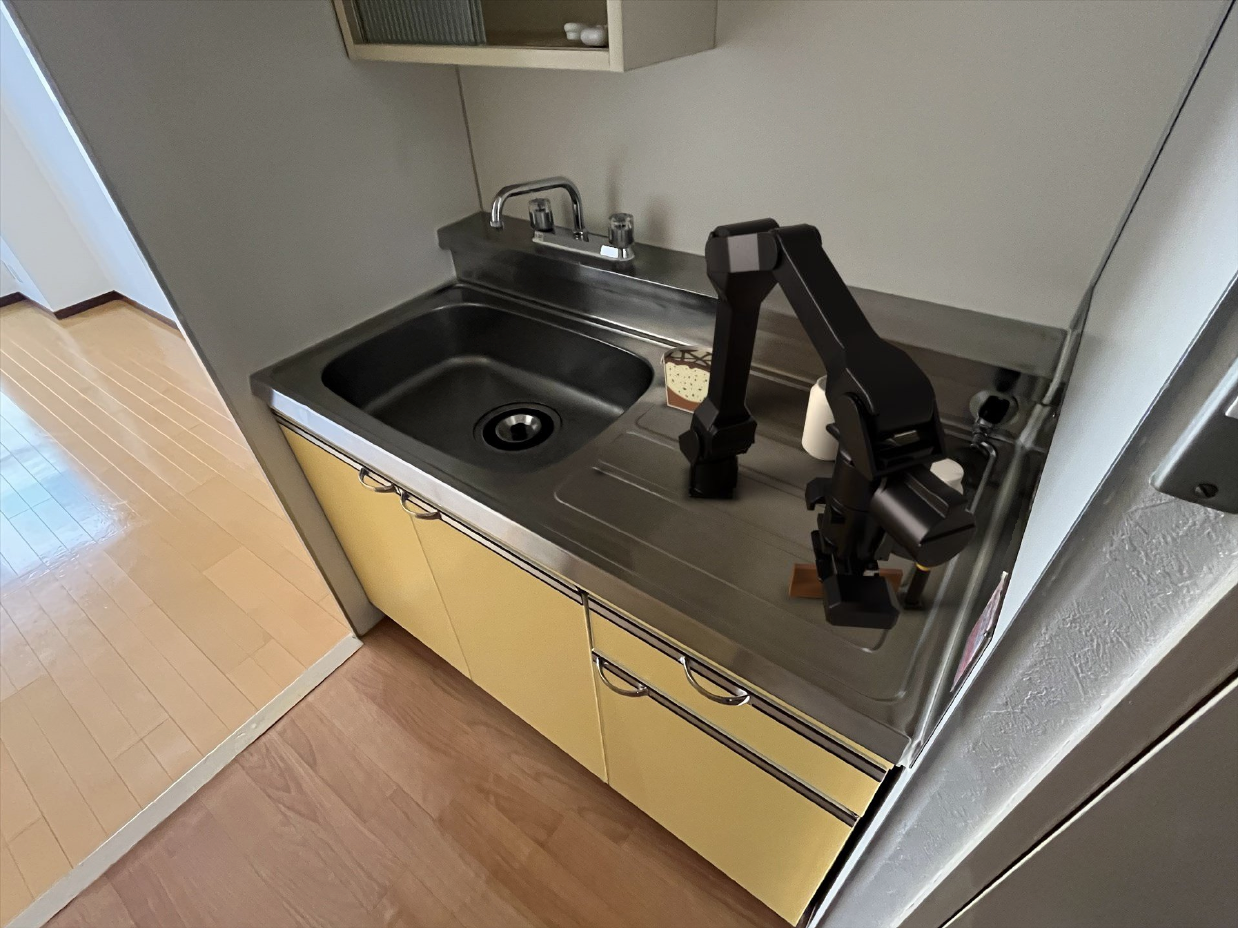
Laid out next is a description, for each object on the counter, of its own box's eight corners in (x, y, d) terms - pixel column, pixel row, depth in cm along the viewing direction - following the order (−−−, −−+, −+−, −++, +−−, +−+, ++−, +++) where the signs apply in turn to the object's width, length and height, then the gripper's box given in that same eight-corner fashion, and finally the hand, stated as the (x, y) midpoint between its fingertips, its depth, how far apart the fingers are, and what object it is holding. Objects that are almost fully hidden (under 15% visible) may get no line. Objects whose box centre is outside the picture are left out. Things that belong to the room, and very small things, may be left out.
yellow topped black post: (903, 609, 76) (921, 561, 71) (899, 596, 78) (916, 548, 73) (921, 610, 76) (940, 562, 71) (917, 597, 78) (935, 549, 73)
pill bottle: (888, 534, 86) (908, 470, 79) (906, 510, 90) (926, 446, 83) (935, 555, 83) (960, 490, 76) (952, 529, 86) (977, 465, 80)
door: (789, 596, 78) (794, 568, 75) (788, 586, 79) (793, 558, 76) (893, 602, 77) (903, 574, 74) (890, 592, 78) (900, 563, 75)
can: (852, 466, 98) (868, 399, 90) (801, 461, 99) (813, 395, 92) (848, 437, 104) (863, 372, 96) (800, 433, 105) (811, 369, 97)
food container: (738, 405, 112) (743, 354, 106) (723, 422, 108) (727, 370, 102) (676, 387, 118) (677, 337, 111) (660, 403, 114) (660, 352, 107)
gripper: (984, 571, 52) (933, 681, 62) (924, 437, 67) (891, 543, 76) (842, 563, 53) (814, 672, 63) (814, 433, 68) (795, 538, 78)
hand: (832, 600), depth 70 cm, fingers closed
